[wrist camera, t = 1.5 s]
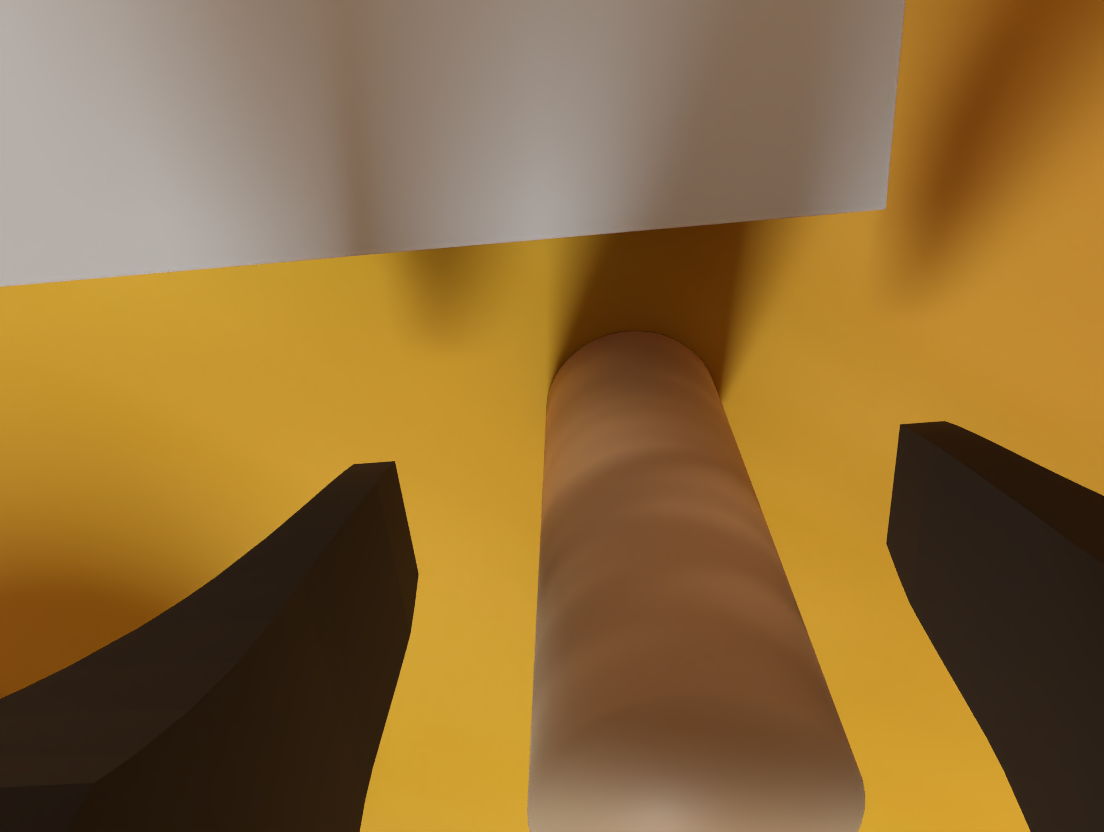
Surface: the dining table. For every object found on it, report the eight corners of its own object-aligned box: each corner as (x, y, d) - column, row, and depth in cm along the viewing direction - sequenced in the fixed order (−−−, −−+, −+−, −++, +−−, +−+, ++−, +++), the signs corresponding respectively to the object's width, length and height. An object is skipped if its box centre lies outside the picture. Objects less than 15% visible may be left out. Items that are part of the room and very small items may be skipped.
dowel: (717, 324, 14) (879, 684, 7) (717, 476, 15) (851, 911, 8) (538, 338, 14) (509, 706, 7) (554, 488, 15) (543, 923, 8)
